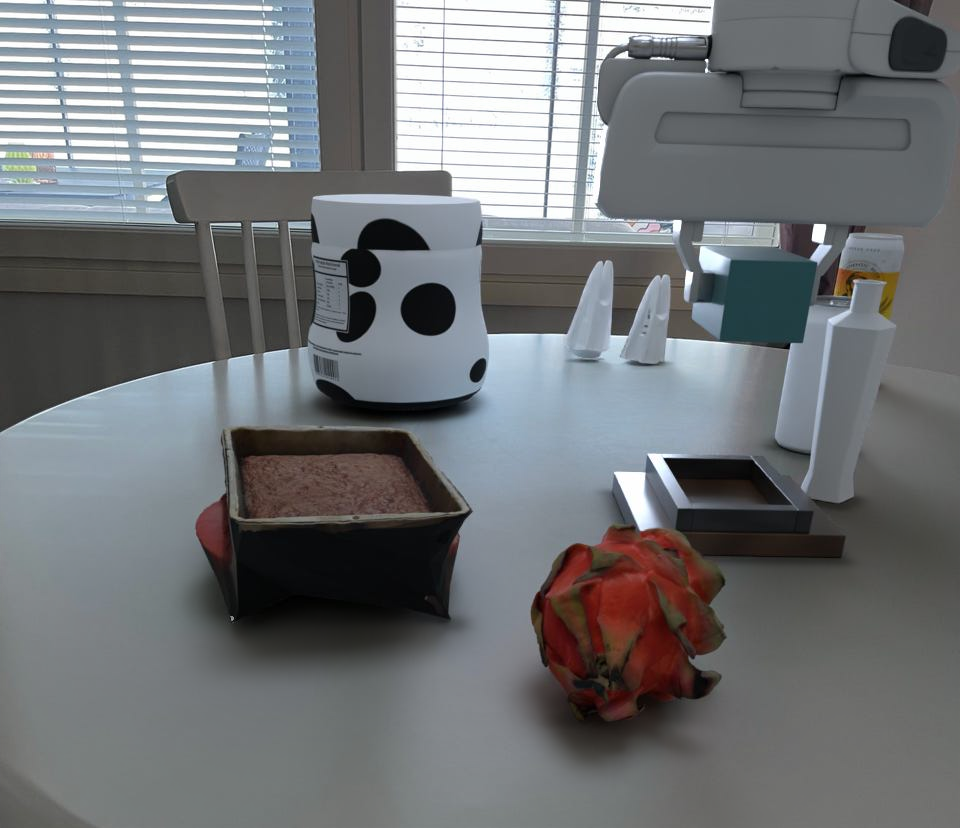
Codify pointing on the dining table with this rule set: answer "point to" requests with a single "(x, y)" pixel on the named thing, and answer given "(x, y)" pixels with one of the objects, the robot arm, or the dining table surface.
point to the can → (806, 377)
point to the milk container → (397, 300)
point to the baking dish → (332, 519)
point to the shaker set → (596, 313)
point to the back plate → (727, 506)
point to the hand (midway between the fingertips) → (748, 303)
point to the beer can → (871, 265)
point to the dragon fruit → (629, 621)
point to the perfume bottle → (847, 391)
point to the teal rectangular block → (756, 294)
